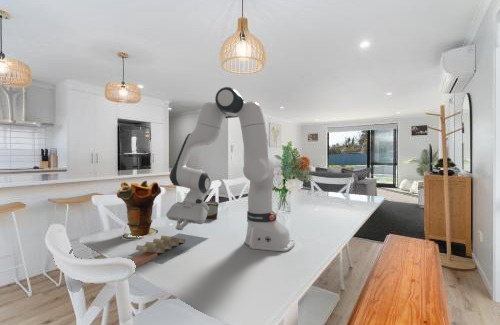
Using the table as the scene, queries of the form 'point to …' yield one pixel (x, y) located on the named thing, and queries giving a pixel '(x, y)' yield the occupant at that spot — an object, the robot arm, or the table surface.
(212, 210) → the food container
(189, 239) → the mat
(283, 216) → the table surface
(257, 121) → the robot arm
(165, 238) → the domino
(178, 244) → the domino
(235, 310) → the table surface
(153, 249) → the domino
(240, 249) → the table surface
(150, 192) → the decorative vase
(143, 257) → the domino
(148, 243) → the domino
